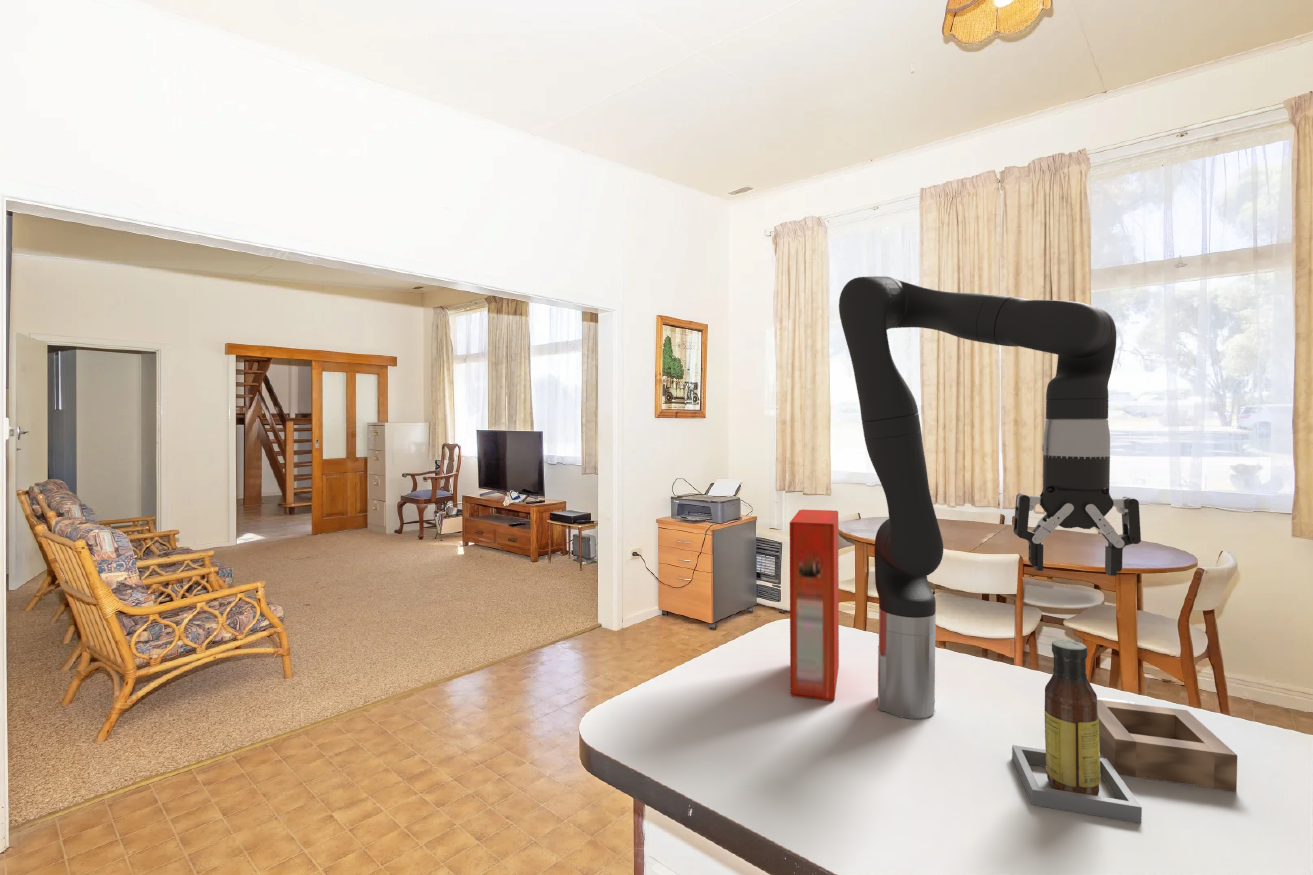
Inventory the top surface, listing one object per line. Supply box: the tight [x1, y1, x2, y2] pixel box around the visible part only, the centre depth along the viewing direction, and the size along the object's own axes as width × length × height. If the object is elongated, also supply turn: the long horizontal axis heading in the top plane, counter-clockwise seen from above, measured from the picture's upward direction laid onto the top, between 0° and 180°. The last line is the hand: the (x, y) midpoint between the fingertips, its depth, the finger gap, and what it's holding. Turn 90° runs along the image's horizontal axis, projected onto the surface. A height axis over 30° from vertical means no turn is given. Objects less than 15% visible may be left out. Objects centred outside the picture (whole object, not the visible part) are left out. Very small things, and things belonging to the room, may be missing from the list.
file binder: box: [789, 509, 840, 702], centre depth 122 cm, size 8×17×32 cm, turn 161°
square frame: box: [1011, 744, 1143, 824], centre depth 86 cm, size 12×12×2 cm
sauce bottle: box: [1044, 639, 1101, 796], centre depth 86 cm, size 7×6×20 cm
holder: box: [1097, 700, 1238, 793], centre depth 94 cm, size 14×14×5 cm
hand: (1074, 572), depth 86 cm, fingers open, 8 cm apart
